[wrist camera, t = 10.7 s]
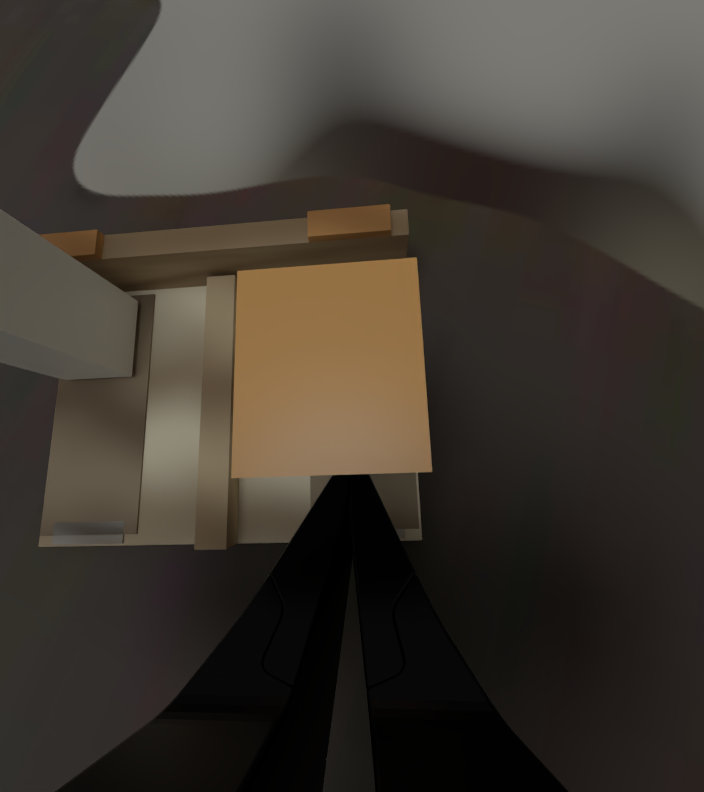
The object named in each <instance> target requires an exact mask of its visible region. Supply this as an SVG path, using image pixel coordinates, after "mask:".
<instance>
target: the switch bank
mask: <svg viewBox="0 0 704 792" xmlns="http://www.w3.org/2000/svg"><path fill="white" fill-rule="evenodd" d="M40 236H41V237H43V238H44V239H46V240H47V241H49V242H50V243H52V244H53V245H55V246H56V247H58V248H59V249H61V250H62V251H64V252H65V253H67V254H68V255H70V256H71V257H73V258H74V259H76V260H77V261H79V262H80V263H82V264H83V265H85V266H86V267H88V268H89V269H91V270H92V271H94V272H95V273H97V274H98V275H100V276H101V277H103V278H104V279H106V280H107V281H109V282H110V283H112V284H113V285H115V286H116V287H118V288H119V289H121V290H122V291H124V292H125V293H127V294H128V295H130V296H131V297H133V298H134V299H136V300H137V301H138V310H137V321H136V333H135V345H134V357H133V369H132V376H131V377H113V378H94V379H76V380H64V379H60V378H59V385H58V393H57V401H56V409H55V417H54V425H53V433H52V442H51V450H50V458H49V466H48V474H47V482H46V490H45V498H44V507H43V515H42V523H41V531H40V539H39V547H56V546H115V545H175V544H194V550H226V549H228V548H230V547H232V546H234V545H235V544H237V543H289V542H290V540H291V539H292V537H293V536H294V534H295V533H296V531H297V529H298V528H299V526H300V525H301V523H302V522H303V520H304V519H305V517H306V515H307V514H308V512H309V511H310V509H311V508H312V506H313V504H314V503H315V501H316V500H317V498H318V497H319V495H320V494H321V492H322V490H323V489H324V487H325V486H326V484H327V483H328V481H329V480H330V478H331V476H332V475H320V476H287V477H255V478H231V469H232V435H233V402H234V368H235V335H236V301H237V271H244V270H257V269H270V268H283V267H297V266H310V265H323V264H336V263H349V262H363V261H376V260H389V259H402V258H406V256H407V247H408V238H409V228H408V214H407V209H404V210H393V211H390V204H387V205H375V206H364V207H352V208H341V209H329V210H318V211H307V218H299V219H288V220H276V221H264V222H253V223H241V224H229V225H218V226H206V227H194V228H183V229H171V230H159V231H148V232H136V233H124V234H113V235H103V234H102V233H101V232H100V231H98V230H88V231H76V232H65V233H53V234H42V235H40ZM369 475H370V477H371V479H372V481H373V483H374V485H375V488H376V490H377V492H378V494H379V496H380V498H381V500H382V502H383V505H384V507H385V509H386V511H387V513H388V515H389V517H390V519H391V522H392V524H393V526H394V528H395V530H396V532H397V534H398V536H399V539H400V541H412V540H422V530H421V514H420V499H419V483H418V472H417V473H384V474H369Z"/></svg>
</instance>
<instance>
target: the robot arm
mask: <svg viewBox="0 0 704 792" xmlns="http://www.w3.org/2000/svg"><path fill="white" fill-rule="evenodd" d="M352 558H353V562H354V572H355V581H356V591H357V601H358V611H359V621H360V631H361V641H362V651H363V660H364V670H365V680H366V689H367V700H368V710H369V720H370V731H371V742H372V754H373V766H374V777H375V789H376V792H568V791H567V790H566V789H565V787H564V786H563V785H562V784H561V783H560V782H559V781H558V780H557V779H556V778H555V777H554V775H553V774H552V773H551V772H550V771H549V770H548V769H547V768H546V767H545V766H544V765H543V764H542V762H541V761H540V760H539V759H538V758H537V757H536V756H535V755H534V754H533V753H532V752H531V751H530V749H529V748H528V747H527V746H526V745H525V744H524V743H523V742H522V741H521V740H520V739H519V737H518V736H517V735H516V734H515V733H514V732H513V731H512V730H511V728H510V727H509V726H508V725H507V723H506V722H505V721H504V719H503V718H502V717H501V715H500V714H499V713H498V711H497V710H496V708H495V707H494V706H493V704H492V703H491V701H490V700H489V698H488V697H487V695H486V694H485V692H484V691H483V689H482V687H481V686H480V684H479V683H478V681H477V679H476V678H475V676H474V675H473V673H472V671H471V670H470V668H469V667H468V665H467V663H466V662H465V660H464V659H463V657H462V655H461V654H460V652H459V651H458V649H457V648H456V646H455V644H454V643H453V641H452V640H451V638H450V636H449V635H448V633H447V631H446V630H445V628H444V626H443V625H442V623H441V621H440V619H439V618H438V616H437V614H436V613H435V611H434V609H433V607H432V605H431V603H430V601H429V599H428V597H427V595H426V593H425V591H424V589H423V587H422V585H421V583H420V581H419V579H418V577H417V575H415V571H414V568H413V566H412V564H411V562H410V560H409V558H408V556H407V553H406V551H405V549H404V547H403V545H402V543H401V541H400V539H399V536H398V534H397V532H396V530H395V528H394V526H393V524H392V522H391V519H390V517H389V515H388V513H387V511H386V509H385V507H384V505H383V502H382V500H381V498H380V496H379V494H378V492H377V490H376V488H375V485H374V483H373V481H372V479H371V477H370V475H369V474H352V475H332V476H331V478H330V480H329V481H328V483H327V484H326V486H325V487H324V489H323V490H322V492H321V494H320V495H319V497H318V498H317V500H316V501H315V503H314V504H313V506H312V508H311V509H310V511H309V512H308V514H307V515H306V517H305V519H304V520H303V522H302V523H301V525H300V526H299V528H298V529H297V531H296V533H295V534H294V536H293V537H292V539H291V540H290V542H289V543H288V545H287V547H286V548H285V550H284V551H283V553H282V554H281V556H280V557H279V559H278V561H277V562H276V564H275V565H274V567H273V568H272V570H271V571H270V576H269V575H268V576H267V577H266V579H265V581H264V582H263V584H262V585H261V587H260V588H259V590H258V591H257V593H256V594H255V596H254V597H253V599H252V600H251V602H250V603H249V605H248V606H247V608H246V609H245V610H244V612H243V613H242V614H241V616H240V617H239V618H238V620H237V621H236V622H235V624H234V625H233V626H232V627H231V629H230V630H229V631H228V633H227V634H226V635H225V636H224V638H223V639H222V640H221V642H220V643H219V644H218V645H217V647H216V648H215V649H214V650H213V652H212V653H211V654H210V655H209V657H208V658H207V659H206V660H205V662H204V663H203V664H202V665H201V667H200V668H199V669H198V670H197V672H196V673H195V674H194V676H193V677H192V678H191V679H190V681H189V682H188V683H187V684H186V686H185V687H184V688H183V689H182V690H181V692H180V693H179V694H178V695H177V696H176V697H175V698H174V700H173V701H172V702H171V703H170V704H169V705H168V706H167V707H166V708H165V709H164V710H163V711H162V712H160V713H159V714H158V715H157V716H156V717H155V718H154V719H152V720H151V721H150V722H149V723H147V724H146V725H145V726H143V727H142V728H141V729H139V730H138V731H137V732H135V733H134V734H132V735H131V736H130V737H128V738H127V739H126V740H124V741H123V742H122V743H120V744H119V745H118V746H116V747H115V748H114V749H112V750H111V751H109V752H108V753H107V754H105V755H104V756H103V757H101V758H100V759H99V760H97V761H96V762H95V763H93V764H92V765H91V766H89V767H88V768H86V769H85V770H84V771H82V772H81V773H80V774H78V775H77V776H76V777H74V778H73V779H72V780H70V781H69V782H68V783H66V784H65V785H63V786H62V787H61V788H59V789H58V790H57V791H55V792H322V791H323V783H324V775H325V768H326V758H327V752H328V744H329V736H330V728H331V721H332V713H333V705H334V697H335V690H336V682H337V674H338V667H339V659H340V651H341V643H342V636H343V628H344V620H345V612H346V605H347V597H348V589H349V582H350V574H351V566H352Z"/></svg>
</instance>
